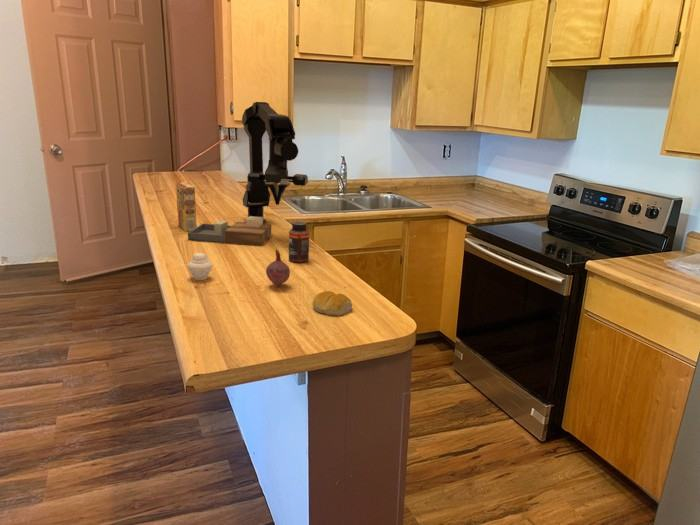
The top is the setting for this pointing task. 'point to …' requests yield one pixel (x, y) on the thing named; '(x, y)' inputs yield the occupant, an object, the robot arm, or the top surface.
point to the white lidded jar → (199, 266)
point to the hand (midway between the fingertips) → (277, 204)
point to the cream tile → (254, 221)
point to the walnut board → (247, 234)
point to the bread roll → (332, 303)
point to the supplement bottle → (298, 242)
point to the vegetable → (278, 271)
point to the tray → (205, 234)
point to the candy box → (186, 206)
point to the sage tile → (220, 227)
